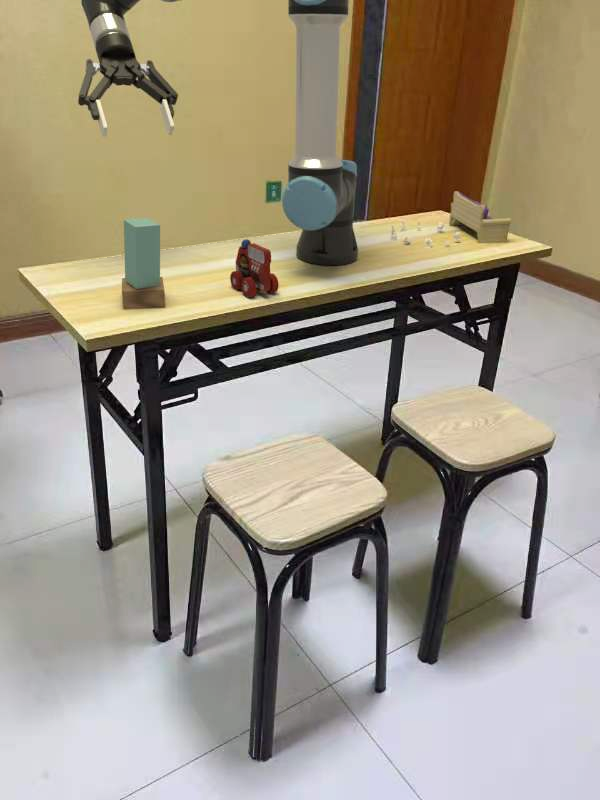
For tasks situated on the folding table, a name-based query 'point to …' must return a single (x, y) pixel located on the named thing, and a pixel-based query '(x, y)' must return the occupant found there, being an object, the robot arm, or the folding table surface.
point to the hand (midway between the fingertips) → (139, 131)
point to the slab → (143, 296)
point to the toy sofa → (478, 220)
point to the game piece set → (428, 240)
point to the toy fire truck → (253, 270)
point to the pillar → (142, 252)
